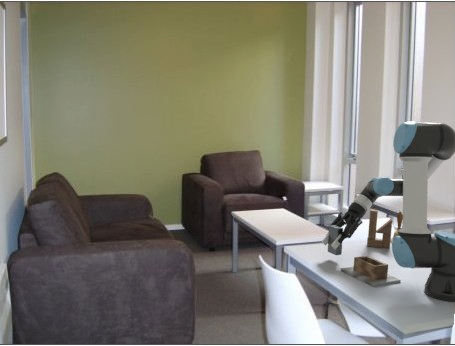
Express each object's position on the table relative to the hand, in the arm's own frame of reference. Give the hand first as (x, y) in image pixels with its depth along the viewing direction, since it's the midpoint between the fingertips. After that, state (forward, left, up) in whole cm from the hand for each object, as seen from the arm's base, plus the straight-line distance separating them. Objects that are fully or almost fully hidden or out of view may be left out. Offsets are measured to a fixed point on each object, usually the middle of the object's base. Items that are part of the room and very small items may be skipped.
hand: (328, 245), depth 231 cm
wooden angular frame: (+10, -38, -8) cm, 40 cm away
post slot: (-22, -4, -7) cm, 24 cm away
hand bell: (+12, -53, -8) cm, 55 cm away
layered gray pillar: (0, -4, -4) cm, 5 cm away
